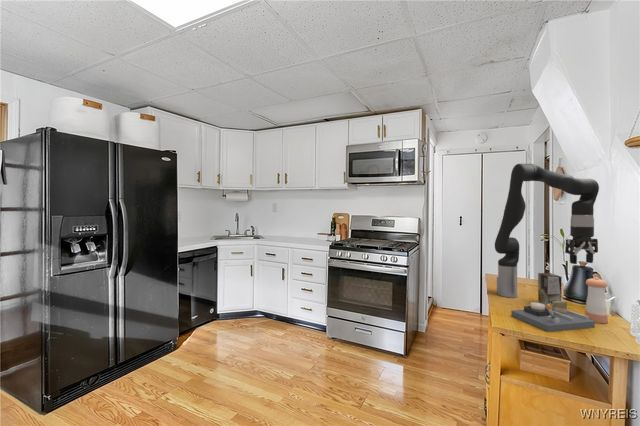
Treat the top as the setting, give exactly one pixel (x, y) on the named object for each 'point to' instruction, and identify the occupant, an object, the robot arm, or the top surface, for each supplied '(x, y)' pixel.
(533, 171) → the robot arm
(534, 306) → the push button
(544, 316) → the control panel
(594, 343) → the top surface
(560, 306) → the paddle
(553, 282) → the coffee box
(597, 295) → the pepper shaker
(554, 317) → the toggle lever
